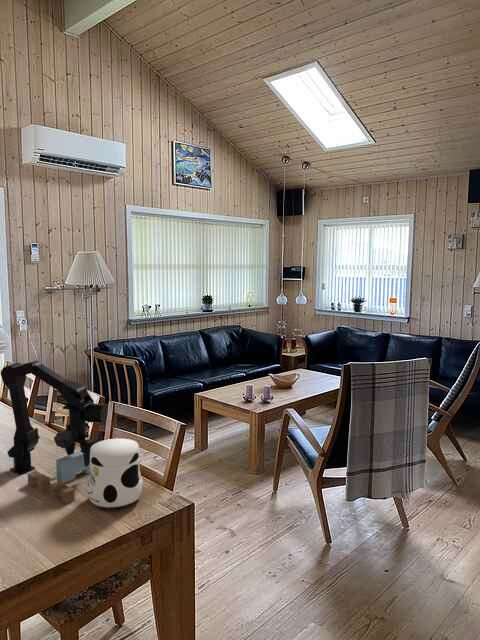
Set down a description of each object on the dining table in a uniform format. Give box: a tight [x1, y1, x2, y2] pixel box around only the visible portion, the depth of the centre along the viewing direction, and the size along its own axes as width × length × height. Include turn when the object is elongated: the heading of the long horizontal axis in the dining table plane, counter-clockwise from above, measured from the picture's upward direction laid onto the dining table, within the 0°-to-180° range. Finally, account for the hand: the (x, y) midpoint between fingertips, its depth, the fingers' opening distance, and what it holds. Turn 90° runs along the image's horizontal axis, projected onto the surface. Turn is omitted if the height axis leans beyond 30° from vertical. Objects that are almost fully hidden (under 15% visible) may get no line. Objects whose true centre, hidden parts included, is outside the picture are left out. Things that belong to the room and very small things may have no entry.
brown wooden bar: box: [27, 470, 75, 505], centre depth 165 cm, size 22×3×4 cm, turn 54°
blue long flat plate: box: [55, 450, 90, 484], centre depth 178 cm, size 3×16×8 cm, turn 144°
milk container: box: [87, 437, 144, 509], centre depth 160 cm, size 17×17×18 cm
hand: (78, 463), depth 178 cm, fingers open, 9 cm apart
